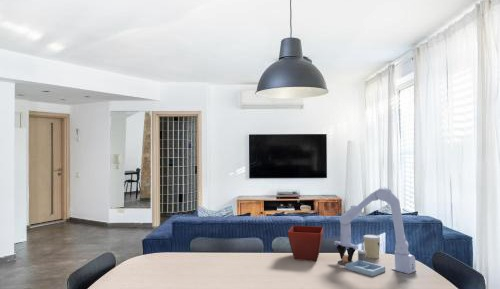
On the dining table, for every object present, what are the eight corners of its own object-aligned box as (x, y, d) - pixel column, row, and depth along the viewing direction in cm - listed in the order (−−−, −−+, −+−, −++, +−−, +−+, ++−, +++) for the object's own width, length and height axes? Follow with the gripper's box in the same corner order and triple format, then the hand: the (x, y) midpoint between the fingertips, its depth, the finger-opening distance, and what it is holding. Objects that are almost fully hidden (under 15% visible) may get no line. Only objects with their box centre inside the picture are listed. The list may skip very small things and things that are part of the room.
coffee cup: (382, 258, 203) (382, 238, 203) (366, 258, 203) (366, 238, 203) (377, 254, 212) (376, 234, 212) (361, 254, 212) (361, 234, 212)
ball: (352, 263, 194) (352, 255, 195) (347, 264, 192) (347, 256, 192) (345, 261, 198) (345, 253, 198) (340, 263, 195) (340, 254, 195)
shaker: (367, 262, 195) (367, 251, 195) (363, 264, 193) (362, 252, 193) (360, 261, 199) (360, 249, 199) (356, 262, 196) (356, 250, 196)
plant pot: (287, 261, 200) (287, 231, 201) (293, 252, 218) (292, 225, 219) (321, 263, 195) (320, 233, 195) (324, 254, 213) (323, 226, 213)
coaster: (355, 263, 194) (355, 261, 194) (347, 265, 190) (347, 264, 190) (344, 260, 200) (344, 258, 200) (337, 263, 195) (337, 261, 195)
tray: (385, 271, 180) (385, 266, 180) (372, 276, 173) (372, 271, 173) (358, 264, 193) (358, 259, 193) (345, 268, 185) (345, 264, 185)
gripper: (361, 236, 192) (361, 261, 192) (339, 232, 204) (340, 255, 203) (353, 238, 188) (354, 264, 187) (331, 234, 199) (332, 258, 199)
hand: (346, 260), depth 195 cm, fingers closed on ball, 4 cm apart
